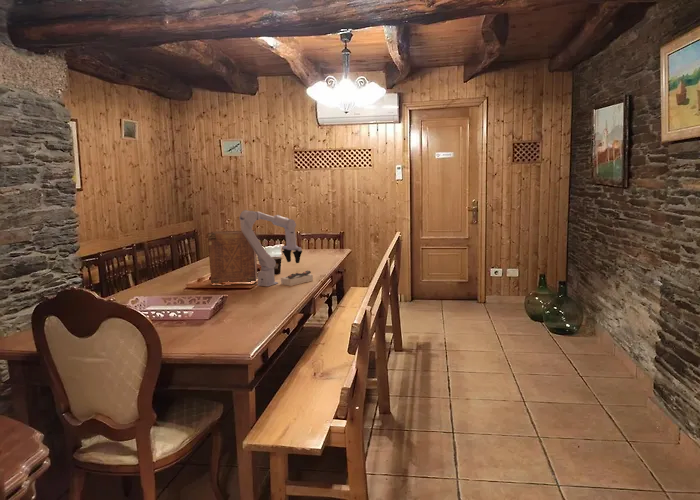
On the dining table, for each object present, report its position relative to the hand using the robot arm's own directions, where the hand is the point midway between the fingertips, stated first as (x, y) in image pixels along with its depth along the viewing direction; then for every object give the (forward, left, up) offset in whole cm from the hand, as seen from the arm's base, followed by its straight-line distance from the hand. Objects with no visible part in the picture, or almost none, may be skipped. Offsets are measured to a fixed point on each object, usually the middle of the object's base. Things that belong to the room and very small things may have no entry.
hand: (293, 262), depth 300 cm
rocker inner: (-10, -5, -6) cm, 13 cm away
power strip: (-4, -5, -11) cm, 13 cm away
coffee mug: (+12, +24, -11) cm, 29 cm away
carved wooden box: (-20, +28, -11) cm, 36 cm away
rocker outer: (+1, -8, -6) cm, 11 cm away
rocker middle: (-4, -7, -6) cm, 10 cm away
